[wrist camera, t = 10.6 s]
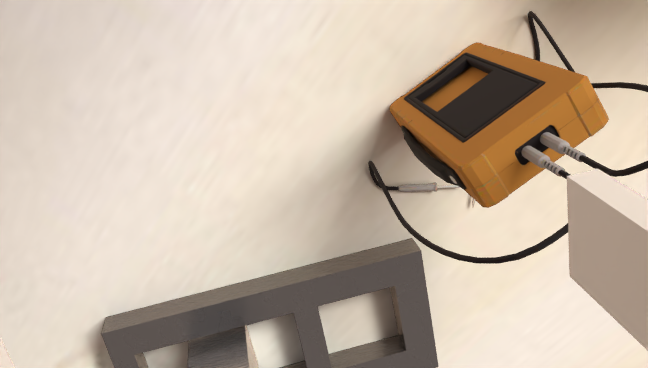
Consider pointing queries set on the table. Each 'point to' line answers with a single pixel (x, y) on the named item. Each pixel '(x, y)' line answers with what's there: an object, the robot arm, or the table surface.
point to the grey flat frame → (294, 311)
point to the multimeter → (499, 126)
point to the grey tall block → (223, 350)
